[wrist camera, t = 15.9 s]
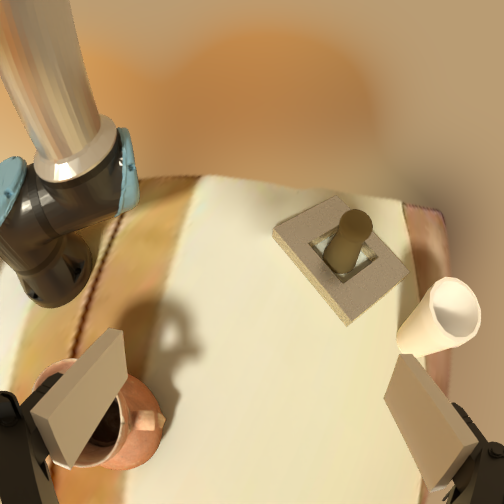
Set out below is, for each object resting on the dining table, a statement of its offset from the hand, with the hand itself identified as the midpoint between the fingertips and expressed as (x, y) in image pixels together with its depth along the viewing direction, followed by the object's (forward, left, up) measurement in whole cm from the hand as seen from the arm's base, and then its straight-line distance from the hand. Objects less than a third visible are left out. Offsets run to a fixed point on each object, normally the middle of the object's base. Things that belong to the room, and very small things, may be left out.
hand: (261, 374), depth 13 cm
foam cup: (+7, +28, -30) cm, 41 cm away
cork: (-12, +27, -30) cm, 42 cm away
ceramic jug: (-8, -17, -30) cm, 36 cm away
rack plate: (-12, +27, -30) cm, 42 cm away
